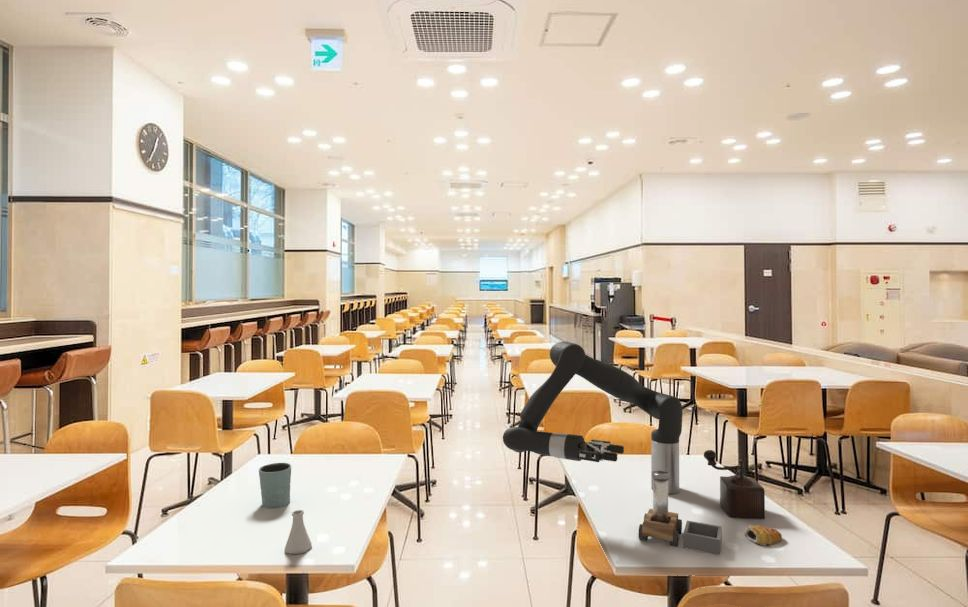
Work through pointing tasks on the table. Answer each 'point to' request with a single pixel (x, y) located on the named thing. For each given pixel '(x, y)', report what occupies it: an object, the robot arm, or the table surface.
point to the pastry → (762, 535)
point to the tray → (702, 537)
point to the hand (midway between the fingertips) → (620, 453)
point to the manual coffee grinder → (739, 492)
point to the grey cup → (275, 484)
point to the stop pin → (660, 496)
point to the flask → (298, 535)
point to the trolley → (661, 528)
